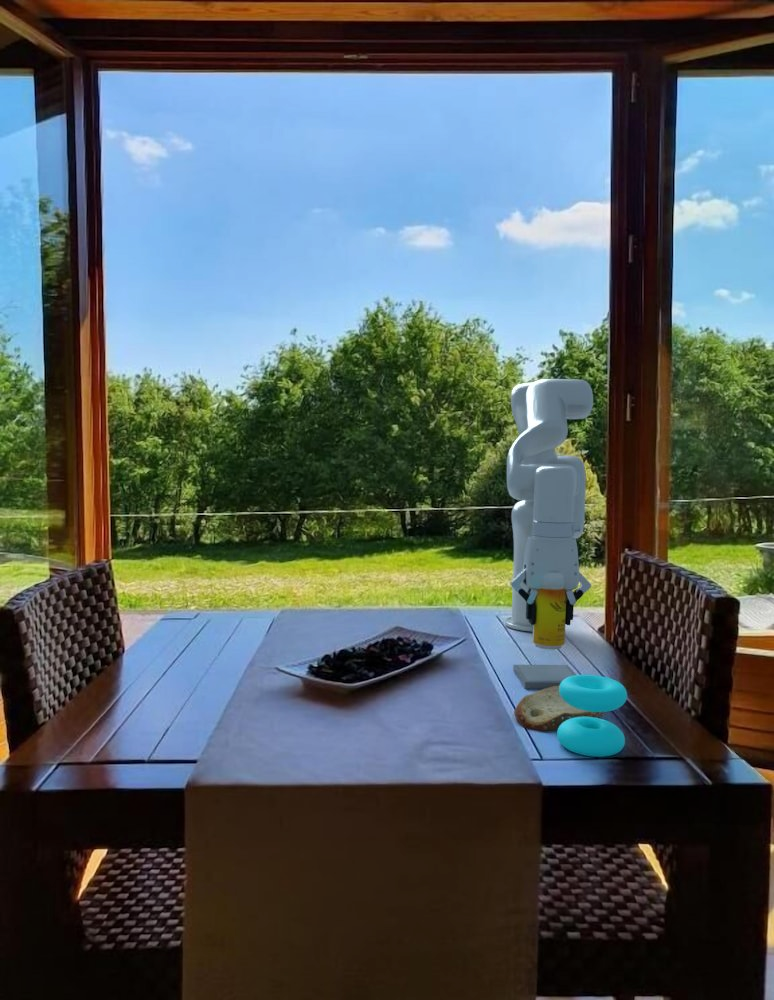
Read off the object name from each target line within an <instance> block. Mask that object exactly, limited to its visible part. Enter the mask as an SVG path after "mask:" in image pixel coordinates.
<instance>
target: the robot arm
mask: <svg viewBox="0 0 774 1000" xmlns="http://www.w3.org/2000/svg"><path fill="white" fill-rule="evenodd" d="M510 405H511V412H512V416H513V419H514V422H515V424H516V426H517V427H516V428H517V431H518V437H517V438H515V440H514V441H513V442H512V444H511V446H510V448H509V450H508V453H507V458H506V489H507V493H508V495H509V496H510V497H511V498H513V499H515V500H517V502H516V503H514V505H513V507H512V510H511V517H510V518H511V524H512V525H511V527H512V534H513V535H512V537H513V567H512V580H511V581H510V583H509V585H510V586H511V587H512V593H511V594H512V595H511V596H512V597H511V598H512V599H511V601H512V602H511V616H509V617H507V618H505V622H504V624H505V626H507V627H508V628H510V629H514V630H516V631H523V632H530V633H531V632H532V633H533V625H534V624H535V623H536V604H534V600H535V597H536V595H537V593H538V590H539V589H541V585H542V580H543V577H544V575H545V574H547V573H548V571H552V572H559V571H560V572H561V574H562V575H563V576H564V577H565V589H566V594H567V596H566V621H565V626H566V625H567V626H571V621H573V620H574V605H576V603H577V601H579V600H580V599H581V598H582V597H583V596H584V594H585V593H587V592H588V591H589V589H591V588H592V583H590V581H588V579H587V578H586V577H585V576H584V575H583V574H582V573H581V572H580V563H579V551H578V544H577V543H578V542H577V539H579V538H580V537H581V536H582V535H583V532H584V527H585V518H586V517H585V514H586V511H585V510H586V485H587V484H586V483H587V481H586V478H587V477H586V468H585V467H586V466H585V464H584V462H583V460H582V459H581V458H580V457H577V456H573V455H559V454H558V455H557V454H556V451H555V450H556V448H557V447H559V446H561V445H562V444H563V443H564V442H565V441H566V439H567V436H568V432H569V431H568V422H567V421H568V420H581V419H582V420H583V419H586V418H588V417H589V416H590V414H591V413H592V411H593V406H594V394H593V389H592V387H591V385H590V383H589V382H588V381H587V380H585V379H577V378H543V379H538V380H536V381H533V382H523V383H520V384H517V385H515V386H514V387H513V388H512V390H511V393H510ZM579 583H580V586H579ZM578 586H579V587H578ZM573 590H574V591H573Z"/></svg>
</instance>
